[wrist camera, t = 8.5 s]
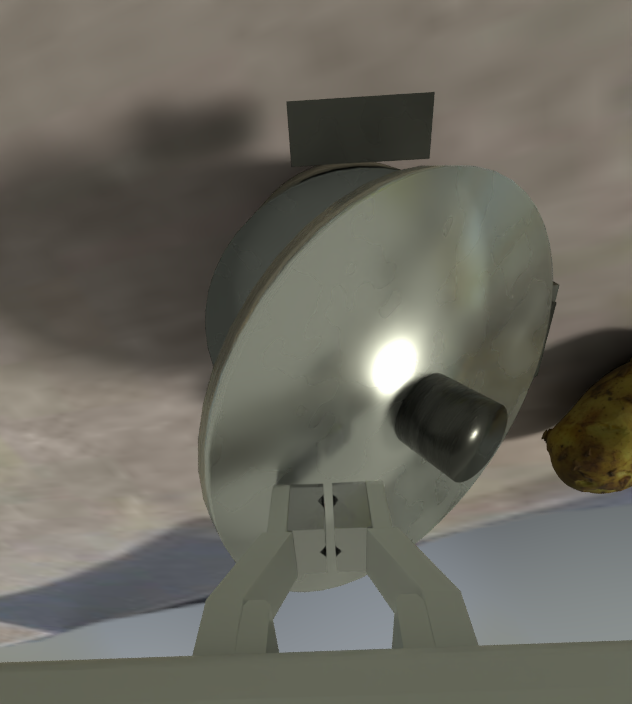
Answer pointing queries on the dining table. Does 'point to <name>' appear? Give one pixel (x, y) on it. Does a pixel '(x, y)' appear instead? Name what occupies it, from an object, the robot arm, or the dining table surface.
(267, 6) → the dining table surface
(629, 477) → the potato
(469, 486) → the lid
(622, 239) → the dining table surface
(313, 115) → the pot
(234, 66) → the dining table surface
